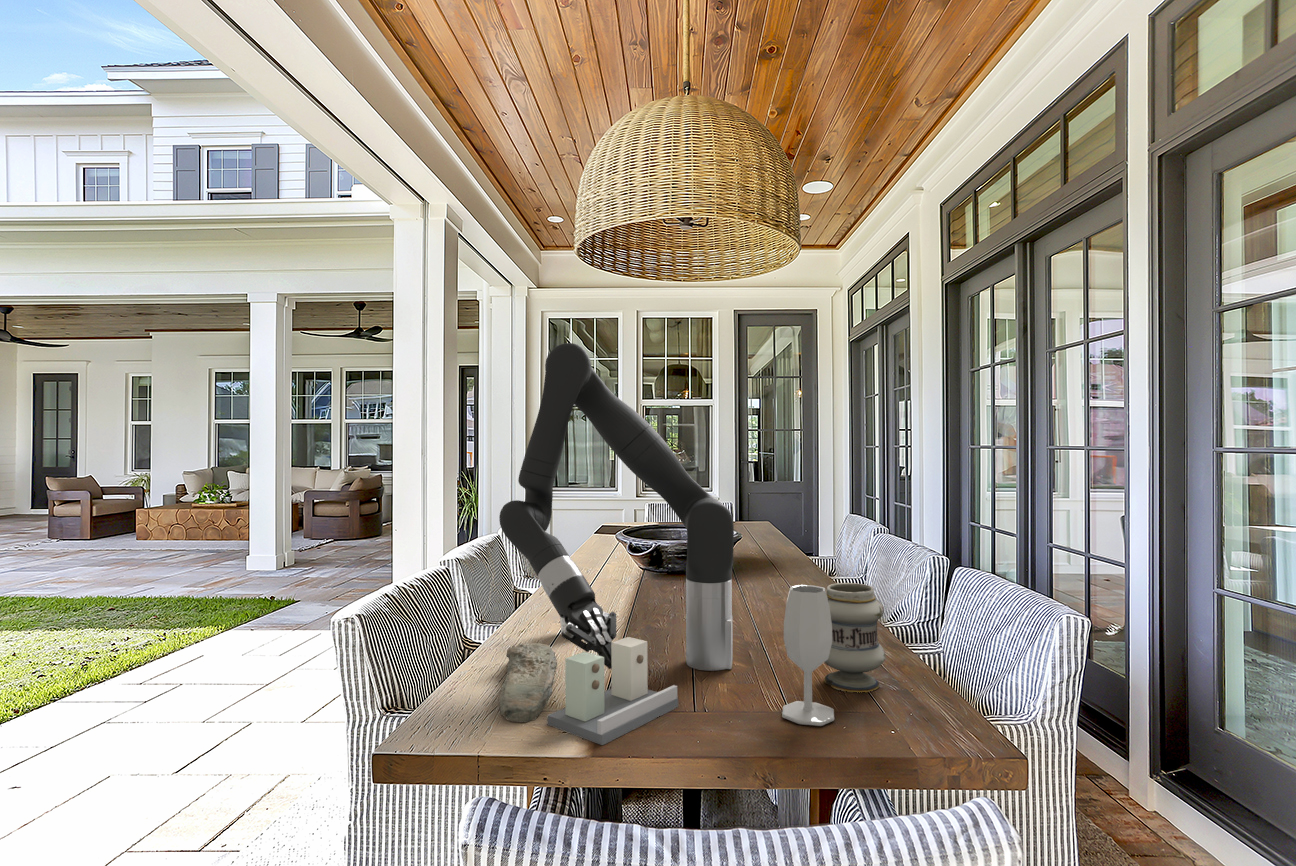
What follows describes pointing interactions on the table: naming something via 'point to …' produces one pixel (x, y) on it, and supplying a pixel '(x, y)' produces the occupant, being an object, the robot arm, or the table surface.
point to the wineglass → (808, 648)
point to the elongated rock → (527, 681)
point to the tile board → (617, 715)
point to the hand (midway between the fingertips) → (615, 665)
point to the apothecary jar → (854, 637)
